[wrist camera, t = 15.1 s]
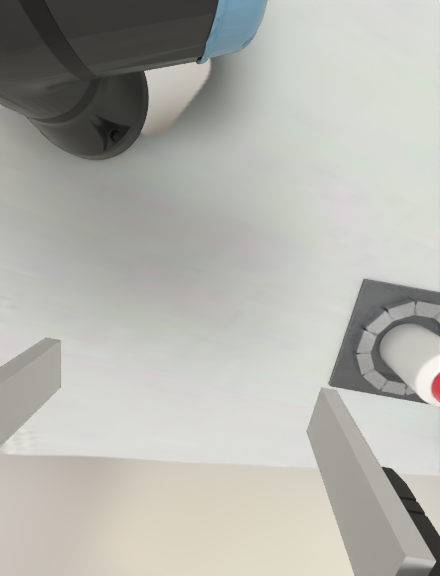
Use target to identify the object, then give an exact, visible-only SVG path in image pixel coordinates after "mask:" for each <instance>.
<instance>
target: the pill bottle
mask: <svg viewBox="0 0 440 576" xmlns="http://www.w3.org/2000/svg"><path fill="white" fill-rule="evenodd" d="M379 352H380V356H381V358H382V360H383V361H384V362H385V364H386V365H387V366H389V367H390V368H391V369H392V370H393V371H394V372H395V373H396V374H397V375H398V376H399V377H400V378H401V379H402V380H403V381H404V382H405V383H406V384H407V385H408V386H409V387H410V388H411V389H412V390H413V391H414V392H415V393H416V394H417V395H418V396H419V397H420V398H421V399H423V400H424V401H425V402H427V403H429V404H431V405H435V406H440V336H439V335H437V334H435V333H433V332H432V331H430V330H428V329H427V328H425V327H423V326H421V325H418V324H414V323H407V324H402V325H398V326H396V327H394V328H392V329H391V330H390V331H388V332H387V333H386V334H385V336H384V337H383V338H382V341H381V343H380V347H379Z"/></svg>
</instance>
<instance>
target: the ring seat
mask: <svg viewBox="0 0 440 576" xmlns="http://www.w3.org/2000/svg"><path fill="white" fill-rule="evenodd" d="M407 323H414V324H418V325H421V326H423V327H425V328H427V329H428V330H430V331H432V332H433V333H435V334H437V335H439V336H440V292H434V291H429V290H423V289H417V288H412V287H406V286H401V285H395V284H390V283H384V282H378V281H373V280H367V279H364V281H363V284H362V287H361V290H360V293H359V295H358V298H357V301H356V304H355V307H354V310H353V313H352V316H351V319H350V322H349V325H348V328H347V331H346V334H345V337H344V340H343V343H342V346H341V349H340V352H339V355H338V358H337V361H336V364H335V367H334V370H333V373H332V376H331V379H330V382H329V385H330V386H332V387H338V388H343V389H349V390H354V391H360V392H365V393H371V394H376V395H382V396H387V397H393V398H398V399H404V400H409V401H415V402H420V403H426V404H429V403H427V402H425V401H424V400H423V399H421V398H420V397H419V396H418V395H417V394H416V393H415V392H414V391H413V390H412V389H411V388H410V387H409V386H408V385H407V384H406V383H405V382H404V381H403V380H402V379H401V378H400V377H399V376H398V375H397V374H396V373H395V372H394V371H393V370H392V369H391V368H390V367H389V366H387V365H386V364H385V362H384V361H383V360H382V358H381V356H380V352H379V347H380V343H381V341H382V338H383V337H384V336H385V334H386V333H387V332H388V331H390V330H391V329H392V328H394V327H396V326H398V325H402V324H407Z"/></svg>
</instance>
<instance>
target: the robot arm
mask: <svg viewBox="0 0 440 576" xmlns="http://www.w3.org/2000/svg"><path fill="white" fill-rule="evenodd" d="M266 4H267V0H0V104H1V105H3V106H5V107H7V108H9V109H11V110H14V111H16V112H18V113H20V114H22V115H24V116H26V117H27V118H28V119H29V120H30V121H31V122H32V123H33V124H34V125H35V126H36V127H37V128H38V129H39V130H40V131H41V133H42V134H43V135H44V136H45V137H46V138H47V139H49V140H50V141H51V142H52V143H54V144H55V145H57V146H58V147H60V148H61V149H63V150H65V151H67V152H69V153H72V154H75V155H77V156H80V157H83V158H87V159H106V158H110V157H113V156H116V155H118V154H120V153H122V152H123V151H125V150H126V149H127V148H128V147H129V146H130V145H131V144H132V143H133V142H134V141H135V140H136V138H137V137H138V135H139V134H140V132H141V130H142V127H143V125H144V123H145V119H146V116H147V111H148V86H147V81H146V76H145V73H144V71H146V70H151V69H157V68H162V67H168V66H174V65H179V64H185V63H190V62H196V63H197V64H202V63H204V62H206V61H207V59H208V58H213V57H217V56H221V55H225V54H229V53H233V52H237V51H240V50H242V49H244V48H245V47H246V46H247V45H248V44H249V43H250V42H251V40H252V39H253V38H254V36H255V35H256V32H257V30H258V28H259V26H260V24H261V21H262V19H263V15H264V12H265V8H266ZM60 387H61V340H56V339H51V338H45V339H43V340H41V341H40V342H38V343H37V344H35V345H34V346H32V347H31V348H29V349H28V350H26V351H25V352H23V353H21V354H20V355H18V356H17V357H15V358H14V359H12V360H11V361H9V362H8V363H6V364H5V365H3V366H1V367H0V447H1V446H2V445H3V444H4V443H5V442H6V441H7V440H8V439H9V438H10V437H11V436H12V435H13V434H14V433H15V432H16V431H17V430H18V429H19V428H20V427H21V426H22V425H23V424H24V423H25V422H26V421H27V420H28V419H29V418H30V417H31V416H32V415H33V414H34V413H35V412H36V411H37V410H38V409H39V408H40V407H41V406H42V405H43V404H44V403H45V402H46V401H47V400H48V399H49V398H50V397H51V396H52V395H53V394H54V393H55V392H56V391H57V390H58V389H59V388H60ZM307 434H308V437H309V440H310V443H311V446H312V449H313V452H314V455H315V458H316V461H317V464H318V467H319V470H320V473H321V476H322V479H323V482H324V485H325V488H326V491H327V494H328V497H329V500H330V503H331V506H332V509H333V512H334V515H335V518H336V521H337V524H338V527H339V530H340V533H341V536H342V539H343V542H344V545H345V548H346V551H347V554H348V556H349V560H350V563H351V566H352V569H353V572H354V575H355V576H440V536H439V535H438V533H437V531H436V530H435V528H434V526H433V525H432V523H431V522H430V520H429V519H428V517H427V516H425V513H424V511H423V509H422V508H421V506H420V505H419V503H418V502H416V498H415V497H414V495H413V494H412V492H411V490H410V489H409V487H408V486H407V484H406V483H405V482H404V481H403V480H402V479H401V478H400V477H399V476H398V475H397V474H396V472H395V471H394V470H393V469H391V468H385V467H381V466H380V464H379V462H378V461H377V459H376V457H375V456H374V454H373V452H372V450H371V449H370V447H369V445H368V444H367V442H366V440H365V438H364V437H363V435H362V433H361V431H360V430H359V428H358V426H357V425H356V423H355V421H354V419H353V418H352V416H351V414H350V413H349V411H348V409H347V407H346V406H345V404H344V402H343V401H342V399H341V397H340V395H339V394H338V392H337V390H333V389H327V388H322V387H321V389H320V392H319V395H318V399H317V402H316V405H315V408H314V411H313V414H312V417H311V420H310V423H309V426H308V429H307Z"/></svg>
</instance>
